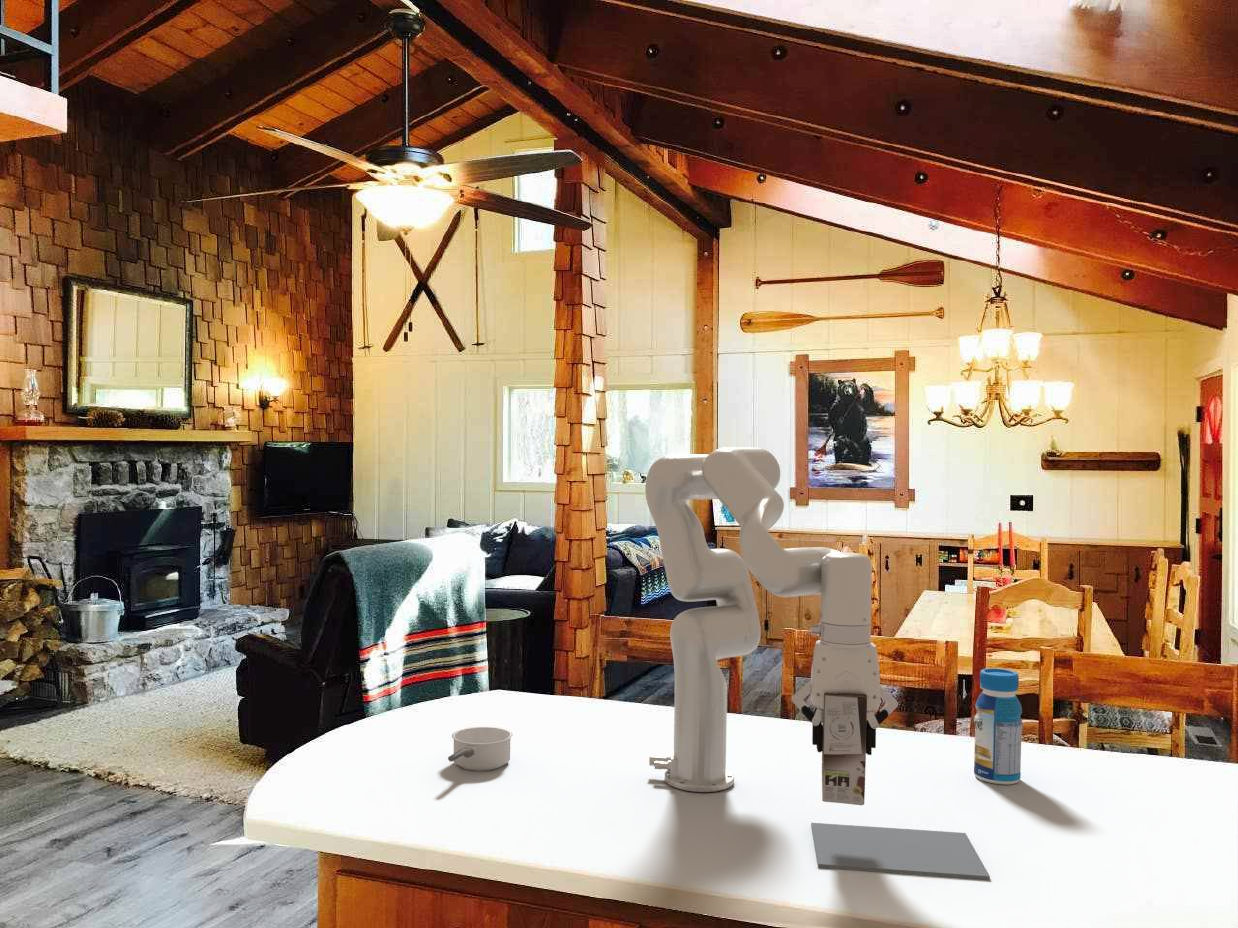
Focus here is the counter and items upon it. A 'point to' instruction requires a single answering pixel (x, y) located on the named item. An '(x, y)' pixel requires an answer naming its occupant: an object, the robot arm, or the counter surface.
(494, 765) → the saucepan
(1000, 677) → the beverage bottle
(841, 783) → the coffee box
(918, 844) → the slate mat
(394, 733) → the counter surface
